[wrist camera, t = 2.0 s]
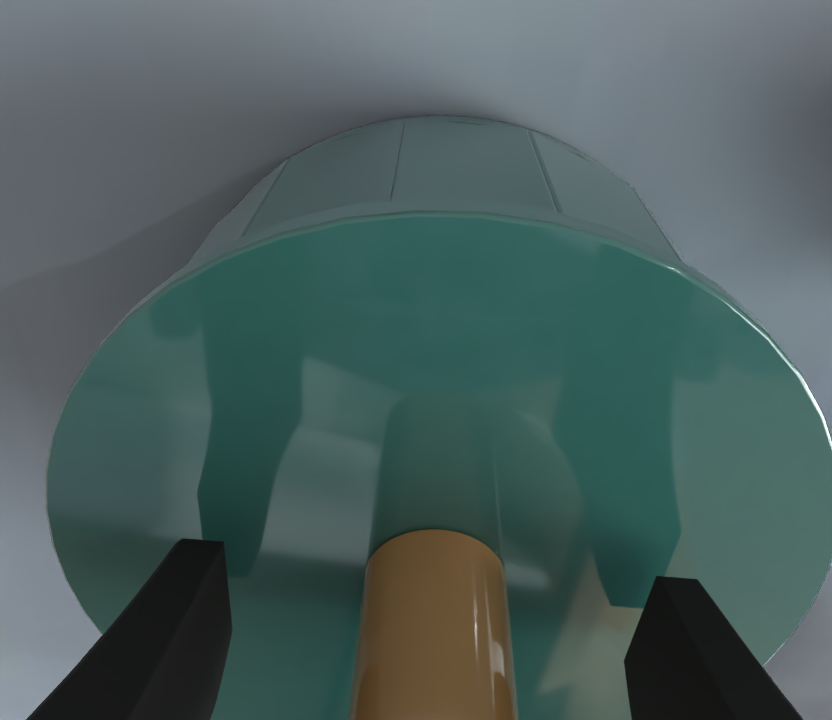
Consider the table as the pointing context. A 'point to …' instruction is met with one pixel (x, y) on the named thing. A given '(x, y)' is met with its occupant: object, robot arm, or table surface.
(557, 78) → the table surface
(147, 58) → the table surface
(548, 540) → the pot lid
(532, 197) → the candle pot
